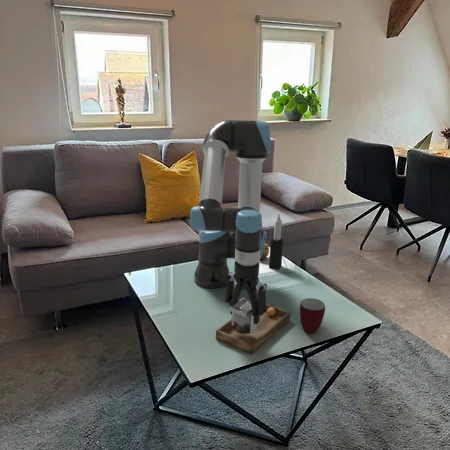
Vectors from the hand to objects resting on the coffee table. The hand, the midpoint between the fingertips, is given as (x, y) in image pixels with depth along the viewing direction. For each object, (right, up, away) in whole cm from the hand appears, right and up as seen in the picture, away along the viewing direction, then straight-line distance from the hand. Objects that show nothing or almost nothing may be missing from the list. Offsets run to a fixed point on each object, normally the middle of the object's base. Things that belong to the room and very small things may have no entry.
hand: (244, 327), depth 133 cm
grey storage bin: (0, 0, 0) cm, 0 cm away
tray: (+4, -2, +6) cm, 7 cm away
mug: (+23, -2, +7) cm, 24 cm away
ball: (+10, +1, +13) cm, 17 cm away
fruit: (+11, +17, +62) cm, 65 cm away
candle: (+16, +14, +54) cm, 58 cm away
